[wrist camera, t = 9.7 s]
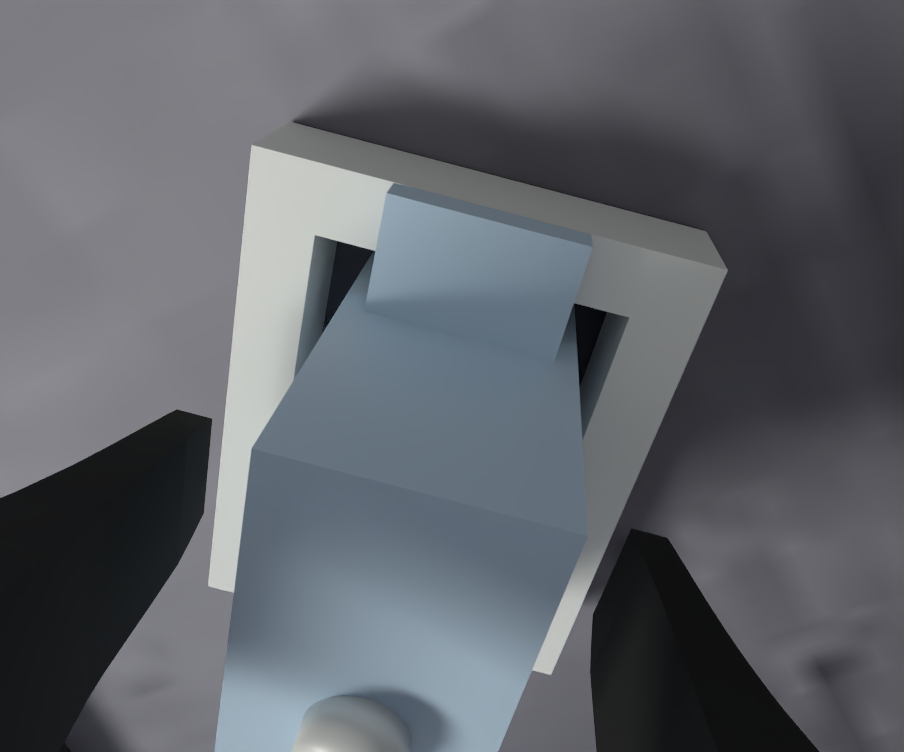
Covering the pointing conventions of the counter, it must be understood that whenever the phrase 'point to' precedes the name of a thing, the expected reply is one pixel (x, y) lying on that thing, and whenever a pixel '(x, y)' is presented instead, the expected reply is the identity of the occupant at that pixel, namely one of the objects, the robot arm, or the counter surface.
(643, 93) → the counter surface
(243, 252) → the frame
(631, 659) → the robot arm
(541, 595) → the block
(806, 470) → the counter surface
